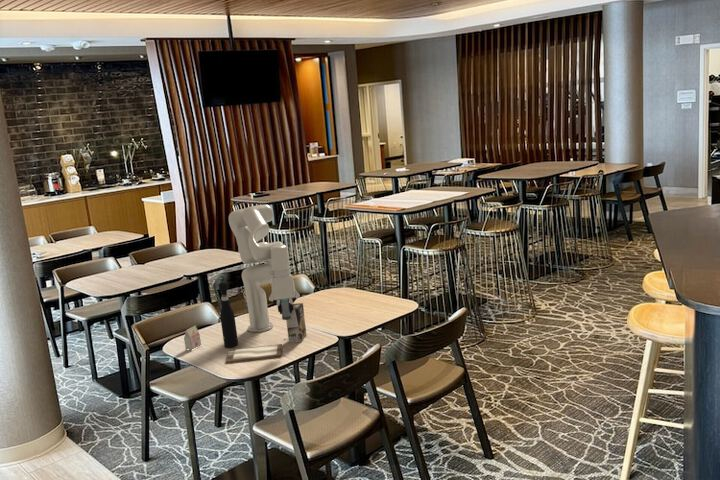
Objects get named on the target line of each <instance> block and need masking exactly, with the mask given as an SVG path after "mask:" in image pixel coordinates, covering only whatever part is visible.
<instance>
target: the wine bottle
mask: <svg viewBox="0 0 720 480" xmlns="http://www.w3.org/2000/svg"><path fill="white" fill-rule="evenodd" d="M218 290H219V292H220V293H221V296H220V297H221V298H220V299H221V301H220V304H221V310H220V314H219V315H220V318H219V319H220V325H221V331H222V338H223V344H224V348H225V349H234V348H237V347H238V346H239V340H238V332H237V326H236V325H237V324H236V319H235V318H236V317H235V313H234V310H233V308H232V306H231V304H230V303H231V301H230V298H229V296H228V291H229V287H228V283H227V282H220V283H219V284H218Z"/></svg>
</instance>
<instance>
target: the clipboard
mask: <svg viewBox="0 0 720 480" xmlns="http://www.w3.org/2000/svg"><path fill="white" fill-rule="evenodd" d="M282 353H283V343H278V344H269V345H261V346H260V345H259V346H253V347H252V346H251V347H245V348H244V347H243V348H236V349H234V348H232V349H229V350H228V353H227V356H226V359H225V364H234V362H235V363H241V362H242V363H243V362H251V361H260V360H269V359H275V358H282Z"/></svg>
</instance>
